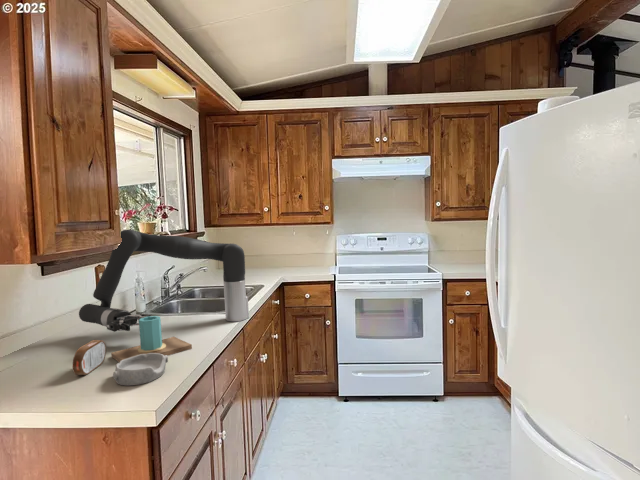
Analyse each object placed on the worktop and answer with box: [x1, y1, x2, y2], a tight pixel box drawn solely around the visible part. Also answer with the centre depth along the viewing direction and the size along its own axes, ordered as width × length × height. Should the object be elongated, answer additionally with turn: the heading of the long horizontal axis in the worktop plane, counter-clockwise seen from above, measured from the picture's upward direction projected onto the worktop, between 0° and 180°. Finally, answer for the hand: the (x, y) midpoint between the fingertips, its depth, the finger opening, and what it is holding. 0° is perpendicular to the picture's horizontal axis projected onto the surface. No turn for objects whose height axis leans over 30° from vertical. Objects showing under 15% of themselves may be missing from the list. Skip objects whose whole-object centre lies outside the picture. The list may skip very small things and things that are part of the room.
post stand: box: [110, 336, 193, 363], centre depth 141 cm, size 22×14×11 cm, turn 134°
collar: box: [138, 315, 163, 351], centre depth 141 cm, size 6×6×10 cm
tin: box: [72, 339, 107, 376], centre depth 128 cm, size 15×3×8 cm, turn 1°
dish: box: [112, 353, 169, 387], centre depth 121 cm, size 14×14×5 cm
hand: (140, 324), depth 144 cm, fingers open, 8 cm apart
